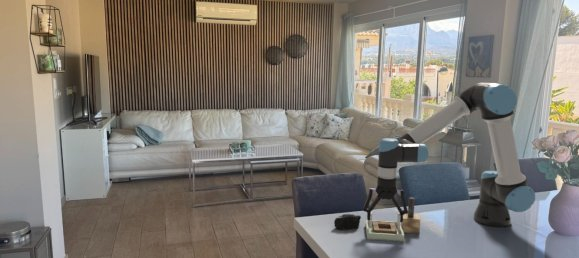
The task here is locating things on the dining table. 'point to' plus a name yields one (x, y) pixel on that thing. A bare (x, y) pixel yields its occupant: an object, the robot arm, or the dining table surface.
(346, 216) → the mineral
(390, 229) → the ring
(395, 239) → the tray
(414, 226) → the block with upright handle
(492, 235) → the dining table surface
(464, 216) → the dining table surface
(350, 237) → the dining table surface
